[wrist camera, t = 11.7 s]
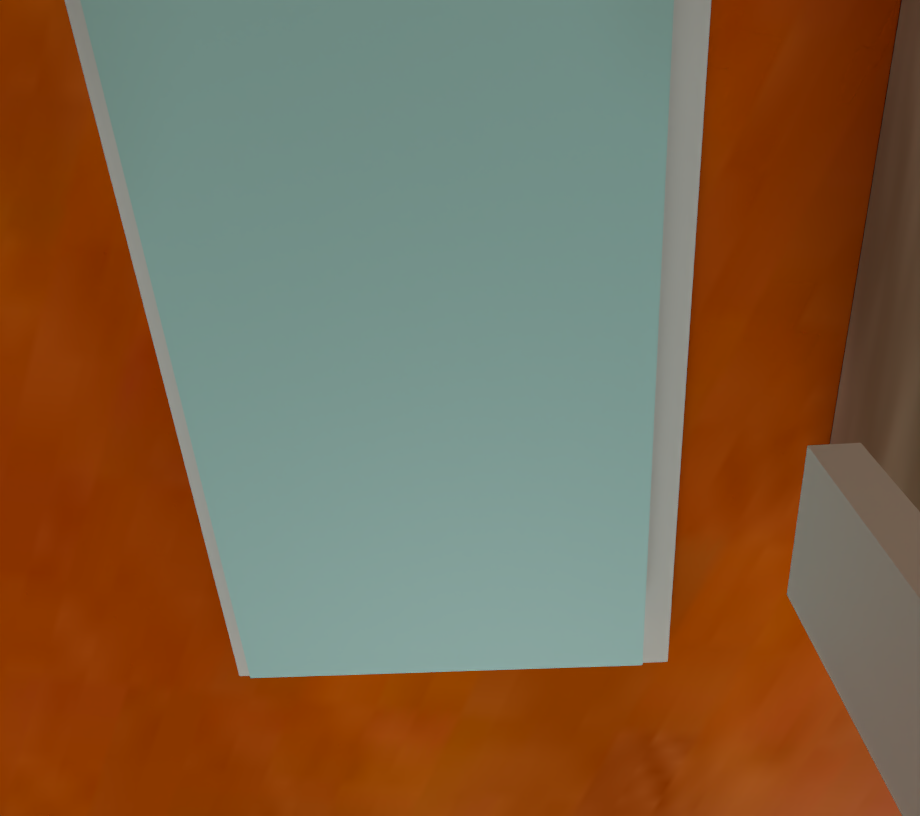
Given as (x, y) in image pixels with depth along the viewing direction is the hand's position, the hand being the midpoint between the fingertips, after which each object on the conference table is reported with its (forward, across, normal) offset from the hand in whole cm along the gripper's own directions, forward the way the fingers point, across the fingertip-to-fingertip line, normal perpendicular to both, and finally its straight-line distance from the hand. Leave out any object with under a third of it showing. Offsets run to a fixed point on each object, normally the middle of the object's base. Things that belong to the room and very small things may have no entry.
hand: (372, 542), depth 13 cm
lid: (+7, 0, 0) cm, 7 cm away
